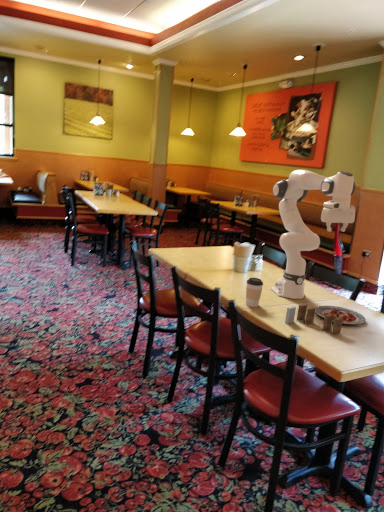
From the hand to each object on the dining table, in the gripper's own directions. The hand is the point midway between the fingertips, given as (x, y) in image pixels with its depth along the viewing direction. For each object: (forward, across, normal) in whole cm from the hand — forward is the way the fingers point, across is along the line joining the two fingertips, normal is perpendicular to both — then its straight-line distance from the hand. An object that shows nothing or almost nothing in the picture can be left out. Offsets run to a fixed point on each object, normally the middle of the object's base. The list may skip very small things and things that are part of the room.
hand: (335, 231), depth 214 cm
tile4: (+46, +13, +17) cm, 51 cm away
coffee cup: (+46, +30, -22) cm, 59 cm away
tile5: (+46, +12, +22) cm, 52 cm away
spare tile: (+46, +25, +4) cm, 53 cm away
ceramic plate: (+46, -8, +5) cm, 47 cm away
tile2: (+46, +15, +8) cm, 49 cm away
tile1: (+46, +17, +3) cm, 49 cm away
